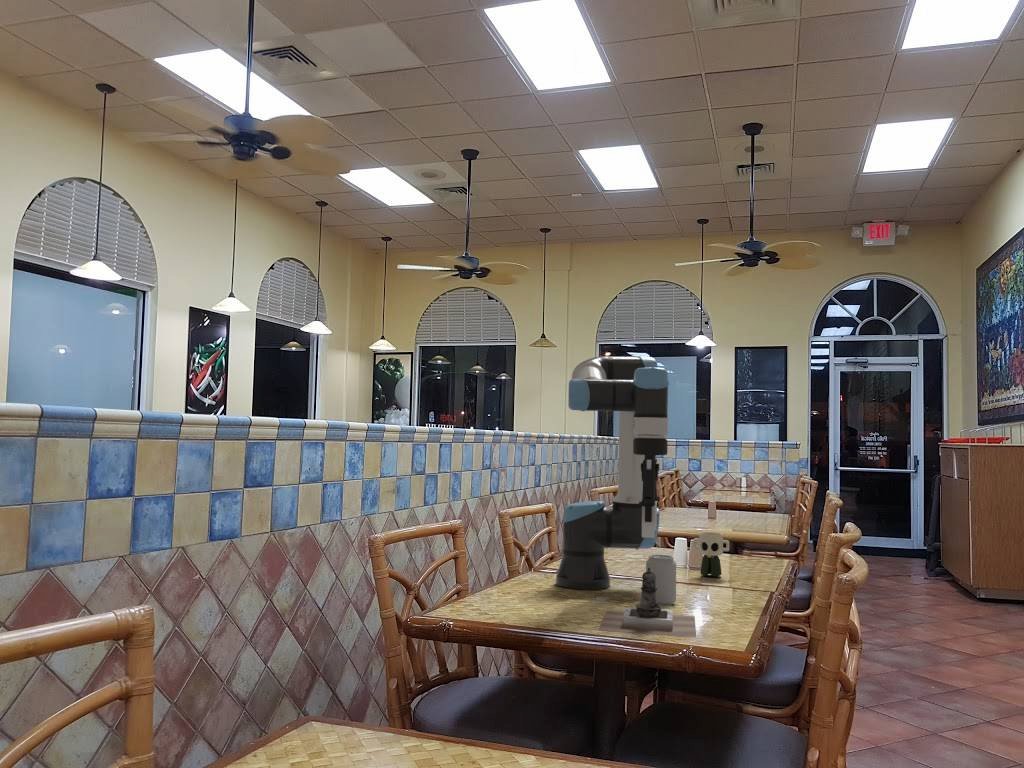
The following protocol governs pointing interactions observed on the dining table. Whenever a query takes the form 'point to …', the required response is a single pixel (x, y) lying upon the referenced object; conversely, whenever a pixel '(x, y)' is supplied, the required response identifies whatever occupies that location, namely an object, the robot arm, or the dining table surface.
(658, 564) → the can
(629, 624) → the steel collar
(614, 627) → the walnut plate
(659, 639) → the dining table surface
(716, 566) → the character mug
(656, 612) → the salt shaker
